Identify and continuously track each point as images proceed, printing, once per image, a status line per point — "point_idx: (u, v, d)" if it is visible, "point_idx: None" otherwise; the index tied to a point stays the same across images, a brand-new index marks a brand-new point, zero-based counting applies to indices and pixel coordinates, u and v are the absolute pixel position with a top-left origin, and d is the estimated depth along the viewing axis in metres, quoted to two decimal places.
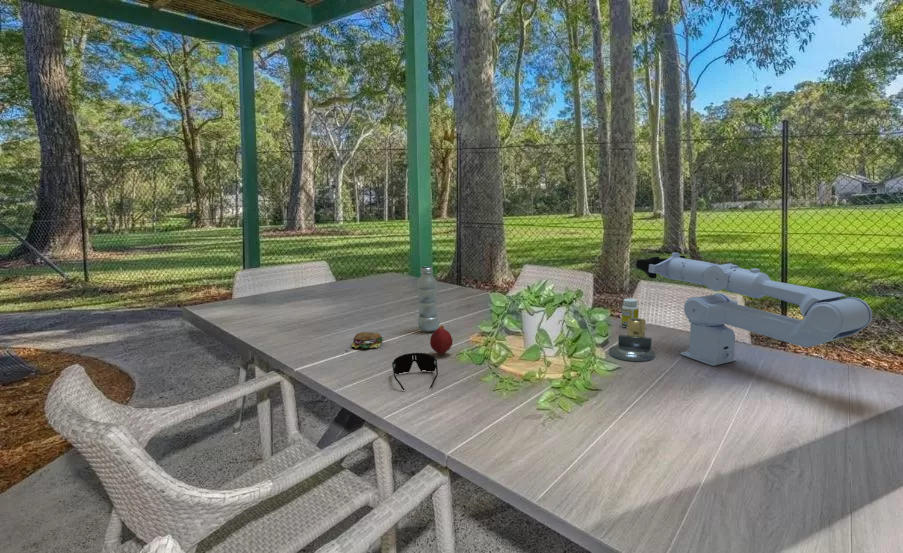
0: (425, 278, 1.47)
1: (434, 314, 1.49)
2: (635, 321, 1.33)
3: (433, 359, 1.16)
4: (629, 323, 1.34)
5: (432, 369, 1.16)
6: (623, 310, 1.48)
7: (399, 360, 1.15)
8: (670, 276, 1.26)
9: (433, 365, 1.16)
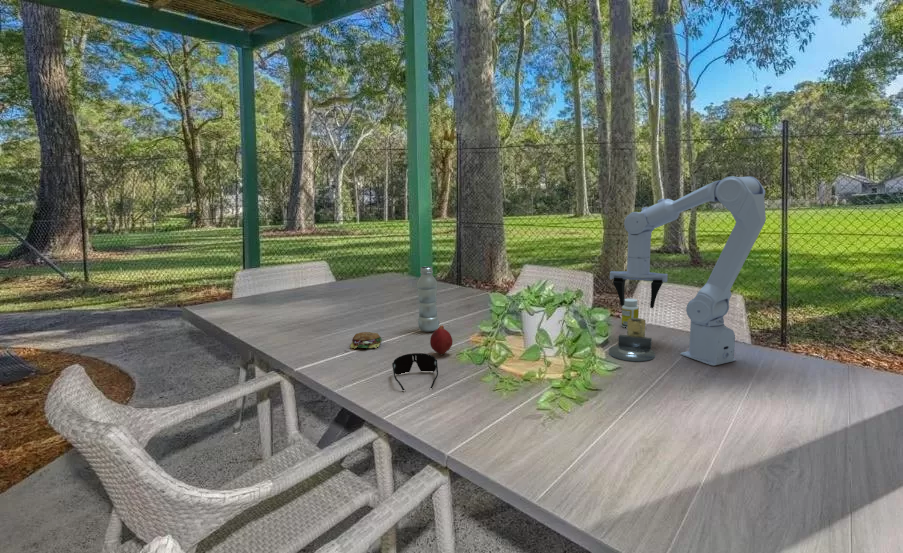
0: (425, 278, 1.47)
1: (434, 314, 1.49)
2: (635, 321, 1.33)
3: (433, 359, 1.16)
4: (629, 323, 1.34)
5: (432, 369, 1.16)
6: (623, 310, 1.48)
7: (399, 361, 1.15)
8: (629, 271, 1.31)
9: (433, 365, 1.16)
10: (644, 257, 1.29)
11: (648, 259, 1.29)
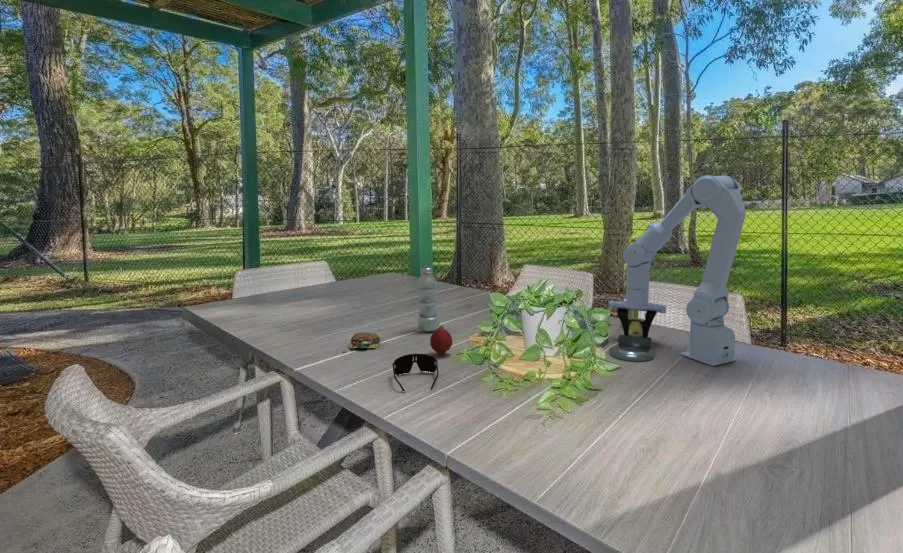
0: (425, 278, 1.47)
1: (434, 314, 1.49)
2: (635, 321, 1.33)
3: (434, 360, 1.15)
4: (629, 323, 1.34)
5: (433, 370, 1.16)
6: None
7: (399, 361, 1.15)
8: (628, 302, 1.33)
9: (434, 366, 1.16)
10: (643, 289, 1.30)
11: (647, 290, 1.31)
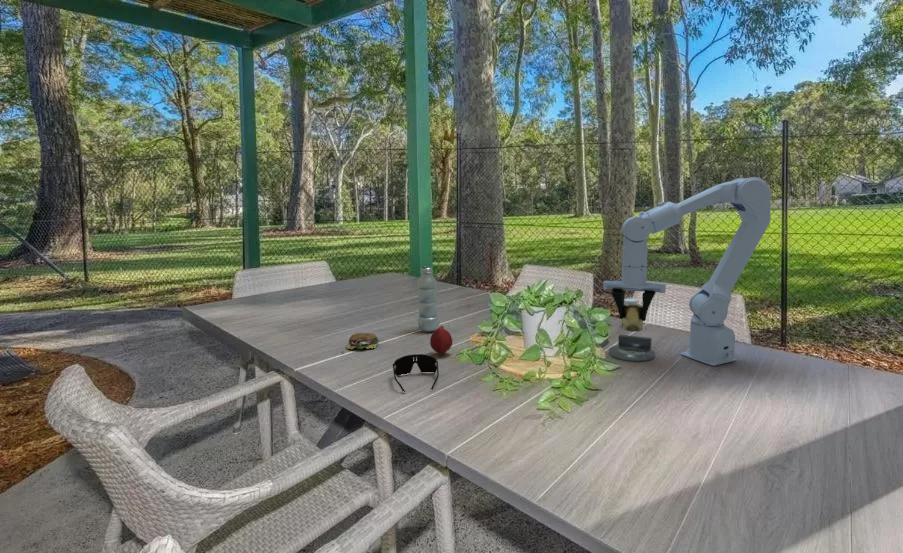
0: (425, 278, 1.47)
1: (434, 314, 1.49)
2: (632, 307, 1.22)
3: (434, 361, 1.15)
4: (626, 309, 1.23)
5: (433, 371, 1.15)
6: None
7: (399, 362, 1.14)
8: (624, 282, 1.21)
9: (434, 367, 1.15)
10: (640, 266, 1.18)
11: (645, 268, 1.19)
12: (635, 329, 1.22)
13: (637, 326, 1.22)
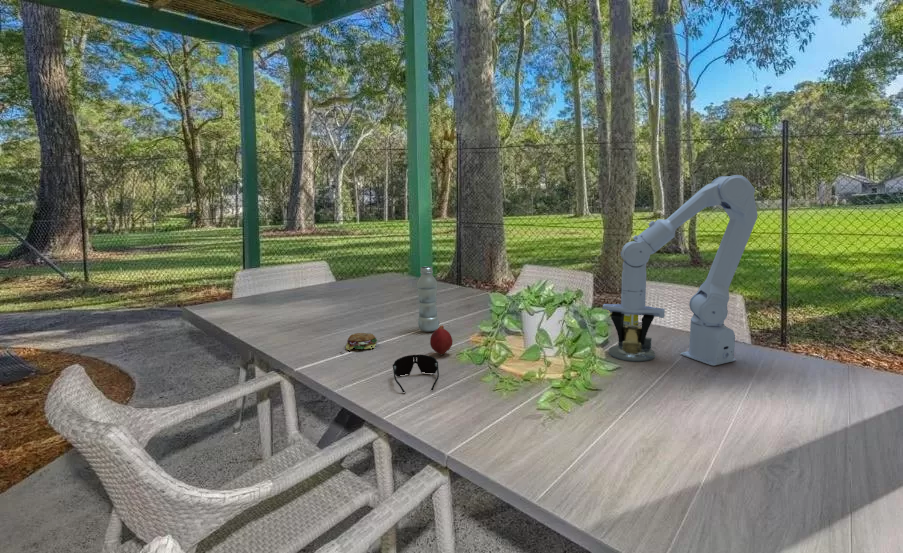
0: (425, 278, 1.47)
1: (434, 314, 1.49)
2: (631, 328, 1.23)
3: (434, 361, 1.15)
4: (625, 331, 1.24)
5: (433, 371, 1.15)
6: None
7: (399, 362, 1.14)
8: (623, 306, 1.22)
9: (434, 367, 1.15)
10: (639, 291, 1.19)
11: (644, 293, 1.20)
12: (634, 351, 1.23)
13: (636, 347, 1.23)
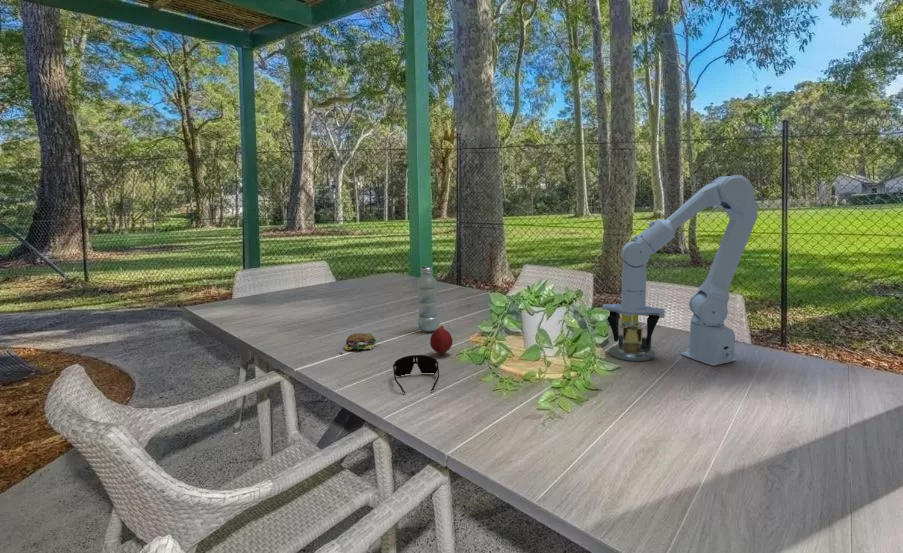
0: (425, 278, 1.47)
1: (434, 314, 1.49)
2: (631, 328, 1.23)
3: (434, 361, 1.14)
4: (625, 331, 1.24)
5: (433, 371, 1.15)
6: None
7: (400, 362, 1.14)
8: (623, 306, 1.22)
9: (434, 367, 1.15)
10: (639, 291, 1.19)
11: (644, 293, 1.20)
12: (634, 351, 1.23)
13: (636, 347, 1.23)
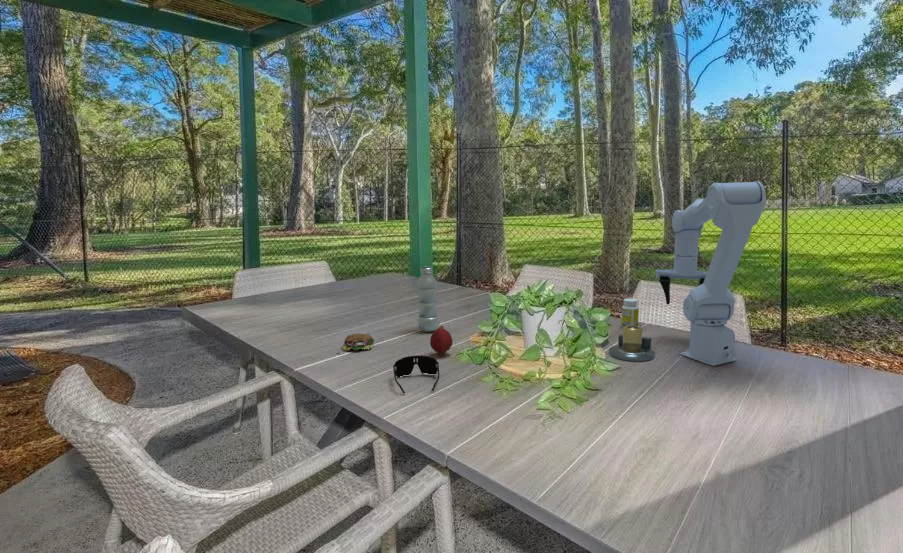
0: (425, 278, 1.47)
1: (434, 314, 1.49)
2: (631, 328, 1.23)
3: (435, 362, 1.14)
4: (625, 331, 1.24)
5: (434, 372, 1.14)
6: (623, 310, 1.48)
7: (400, 363, 1.14)
8: (676, 270, 1.31)
9: (435, 368, 1.14)
10: (692, 255, 1.29)
11: (696, 257, 1.29)
12: (634, 351, 1.23)
13: (636, 348, 1.23)
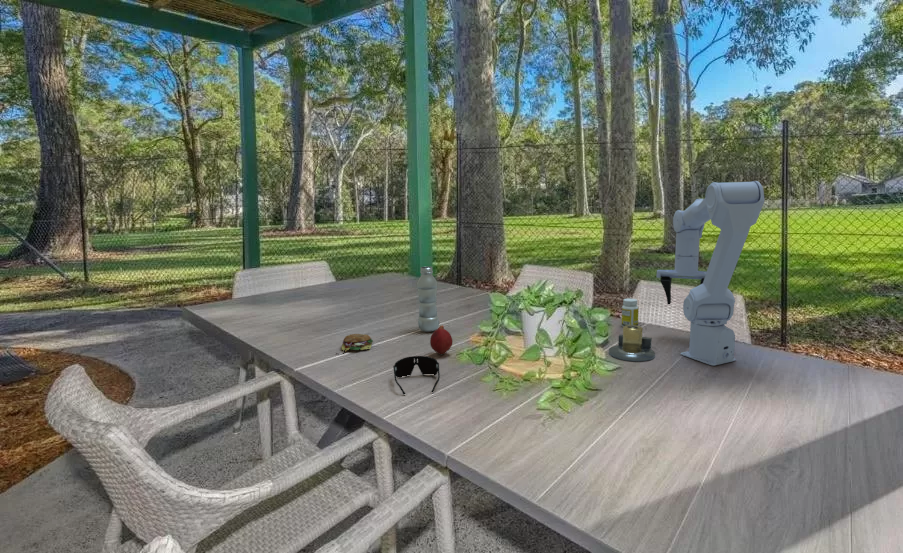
0: (425, 278, 1.47)
1: (434, 314, 1.49)
2: (631, 328, 1.23)
3: (435, 362, 1.14)
4: (625, 331, 1.24)
5: (434, 373, 1.14)
6: (623, 310, 1.48)
7: (400, 363, 1.13)
8: (677, 270, 1.31)
9: (435, 368, 1.14)
10: (693, 255, 1.29)
11: (697, 257, 1.29)
12: (634, 351, 1.23)
13: (636, 348, 1.23)
